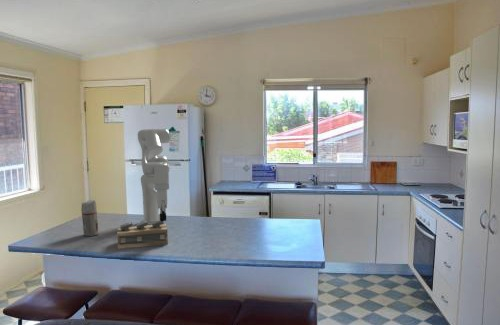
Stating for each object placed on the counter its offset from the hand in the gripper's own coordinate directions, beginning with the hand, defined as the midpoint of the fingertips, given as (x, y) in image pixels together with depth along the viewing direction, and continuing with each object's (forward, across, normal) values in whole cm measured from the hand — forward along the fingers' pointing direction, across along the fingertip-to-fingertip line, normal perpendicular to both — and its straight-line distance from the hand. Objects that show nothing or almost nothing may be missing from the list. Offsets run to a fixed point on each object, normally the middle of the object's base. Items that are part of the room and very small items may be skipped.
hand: (163, 220), depth 213 cm
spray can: (+11, -27, -39) cm, 48 cm away
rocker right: (+2, 0, -3) cm, 3 cm away
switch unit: (+11, -1, -11) cm, 16 cm away
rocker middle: (+1, 0, -11) cm, 11 cm away
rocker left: (+1, -1, -19) cm, 19 cm away
